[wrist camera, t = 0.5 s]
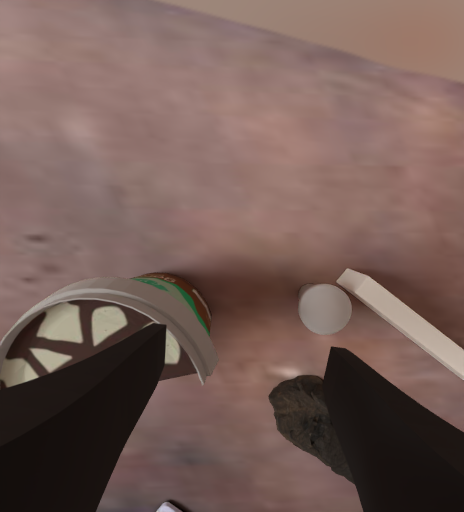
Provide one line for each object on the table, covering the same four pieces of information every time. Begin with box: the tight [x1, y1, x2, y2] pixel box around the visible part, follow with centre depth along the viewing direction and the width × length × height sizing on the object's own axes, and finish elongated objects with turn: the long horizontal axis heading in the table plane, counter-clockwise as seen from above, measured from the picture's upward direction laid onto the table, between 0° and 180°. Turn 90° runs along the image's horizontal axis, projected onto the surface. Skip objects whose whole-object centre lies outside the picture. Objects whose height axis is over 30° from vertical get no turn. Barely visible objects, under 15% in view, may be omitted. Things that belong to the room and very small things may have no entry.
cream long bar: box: [298, 268, 464, 380], centre depth 19 cm, size 6×31×4 cm, turn 53°
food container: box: [0, 273, 219, 390], centre depth 16 cm, size 12×6×10 cm, turn 104°
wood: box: [268, 376, 355, 484], centre depth 21 cm, size 22×7×3 cm, turn 53°
